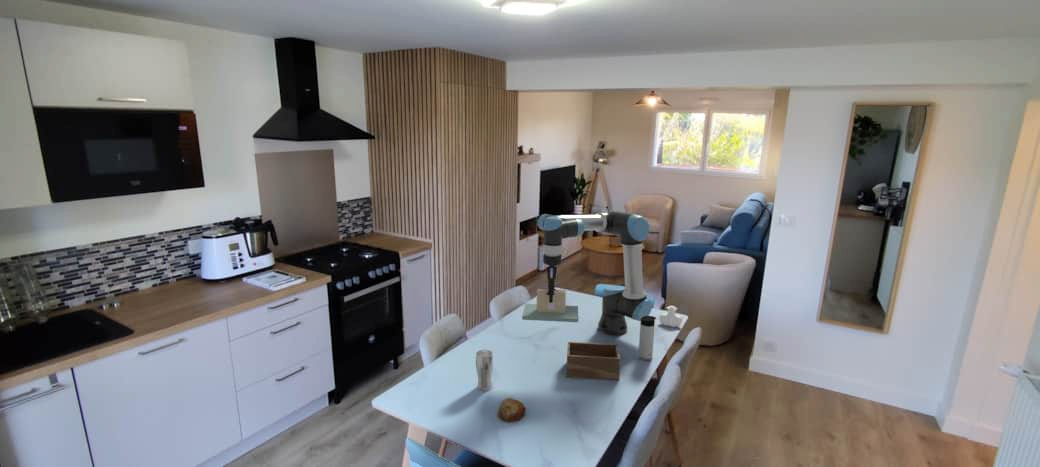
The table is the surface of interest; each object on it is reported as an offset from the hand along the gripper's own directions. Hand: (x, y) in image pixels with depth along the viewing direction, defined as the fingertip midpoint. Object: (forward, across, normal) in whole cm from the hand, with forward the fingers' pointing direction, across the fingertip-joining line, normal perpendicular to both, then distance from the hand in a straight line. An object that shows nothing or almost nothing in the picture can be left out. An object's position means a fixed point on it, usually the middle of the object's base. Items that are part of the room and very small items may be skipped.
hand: (550, 307), depth 206 cm
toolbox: (+29, -2, +19) cm, 35 cm away
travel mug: (+29, -17, +44) cm, 55 cm away
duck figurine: (+29, -58, +63) cm, 90 cm away
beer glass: (+30, +17, -26) cm, 43 cm away
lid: (+3, 0, 0) cm, 3 cm away
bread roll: (+30, +35, -12) cm, 47 cm away
